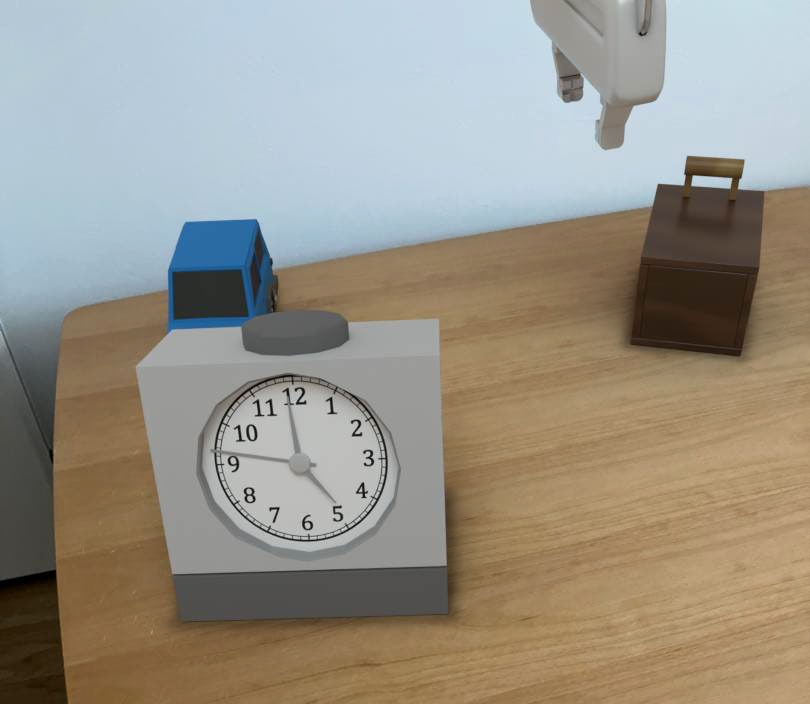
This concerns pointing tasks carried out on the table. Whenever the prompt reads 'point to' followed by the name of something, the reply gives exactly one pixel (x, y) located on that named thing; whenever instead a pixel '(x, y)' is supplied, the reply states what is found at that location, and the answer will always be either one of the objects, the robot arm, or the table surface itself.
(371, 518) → the alarm clock
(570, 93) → the robot arm
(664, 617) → the table surface
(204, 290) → the toy car
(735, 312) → the chest
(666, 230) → the lid
